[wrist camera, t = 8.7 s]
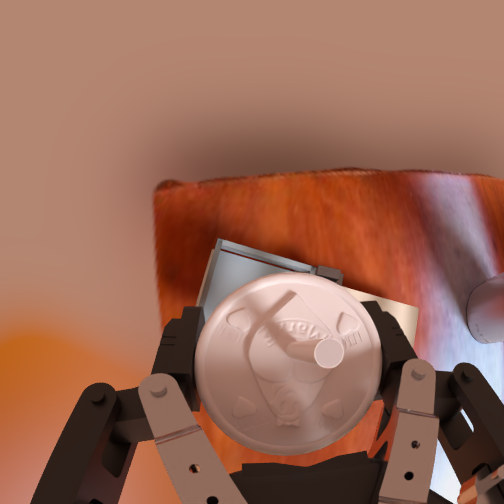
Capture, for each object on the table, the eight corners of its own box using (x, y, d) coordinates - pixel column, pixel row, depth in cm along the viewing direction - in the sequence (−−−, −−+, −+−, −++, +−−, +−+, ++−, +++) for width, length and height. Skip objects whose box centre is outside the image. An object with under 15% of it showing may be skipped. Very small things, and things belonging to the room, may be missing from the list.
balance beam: (411, 303, 32) (426, 300, 30) (398, 381, 29) (412, 383, 27) (213, 245, 30) (215, 237, 27) (186, 340, 27) (185, 341, 24)
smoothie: (323, 309, 19) (456, 229, 6) (317, 405, 17) (442, 497, 4) (224, 303, 19) (168, 205, 6) (217, 401, 17) (147, 512, 4)
